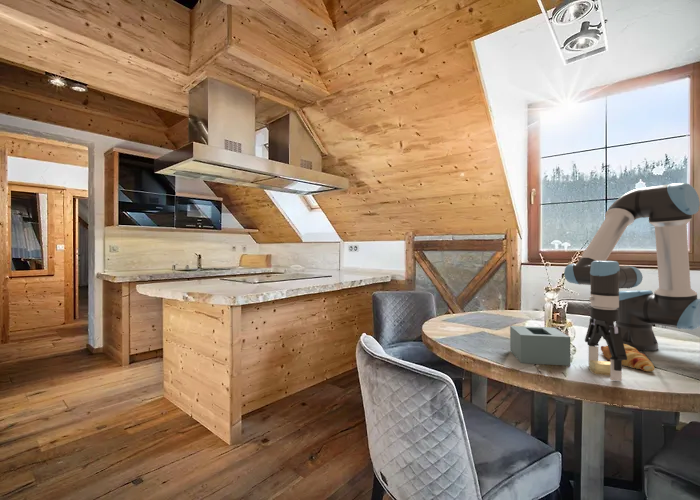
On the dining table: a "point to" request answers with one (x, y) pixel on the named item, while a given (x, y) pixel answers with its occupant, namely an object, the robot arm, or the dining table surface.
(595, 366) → the pale yellow block
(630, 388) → the dining table surface
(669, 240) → the robot arm
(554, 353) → the coin box
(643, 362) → the croissant
